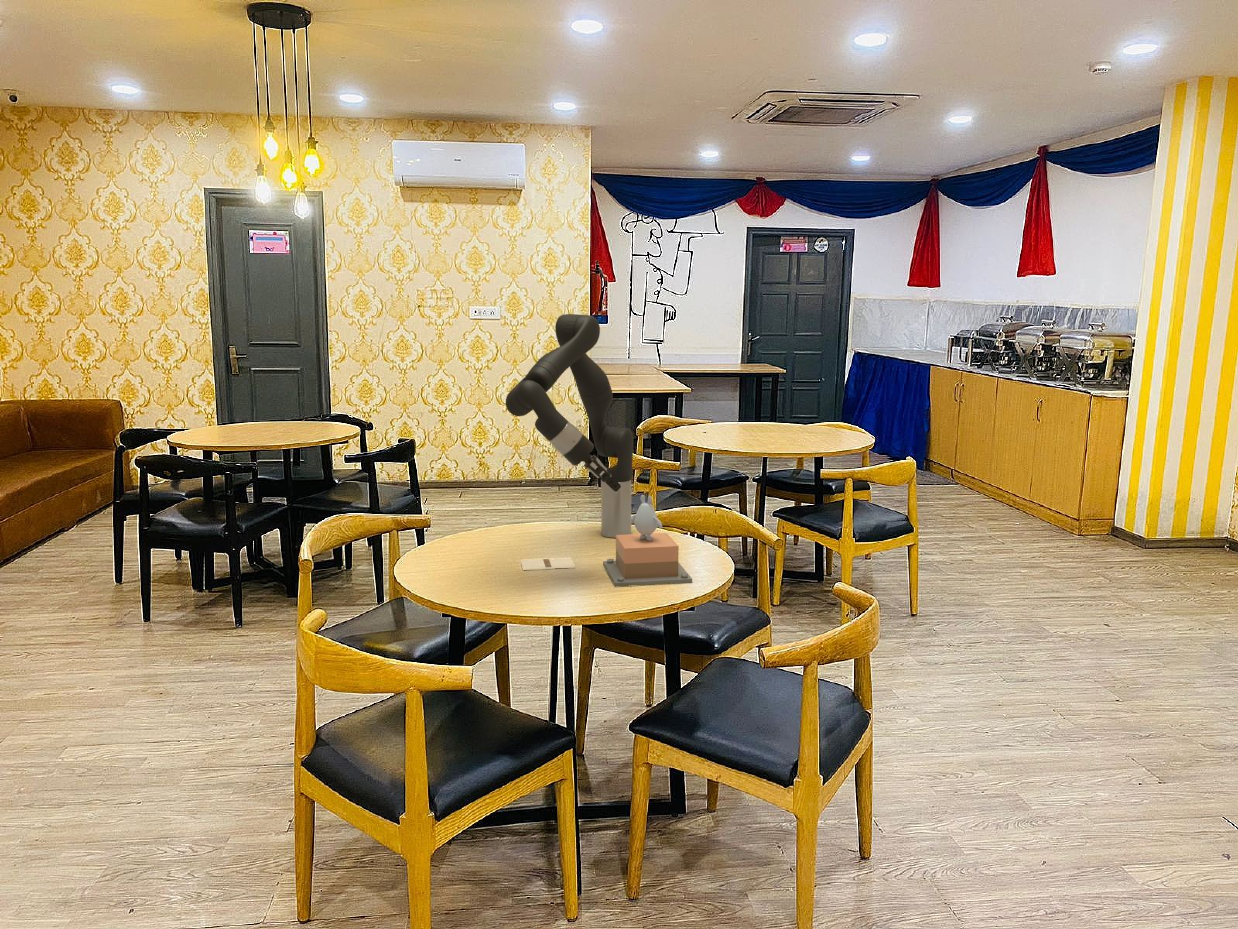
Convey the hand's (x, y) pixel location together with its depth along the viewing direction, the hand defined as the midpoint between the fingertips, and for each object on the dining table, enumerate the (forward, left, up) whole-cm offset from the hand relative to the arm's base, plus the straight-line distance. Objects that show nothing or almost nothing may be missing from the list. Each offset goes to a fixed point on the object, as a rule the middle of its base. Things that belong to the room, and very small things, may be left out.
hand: (615, 485), depth 237 cm
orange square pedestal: (0, +8, -24) cm, 25 cm away
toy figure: (0, +8, -15) cm, 17 cm away
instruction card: (-13, -17, -24) cm, 32 cm away
